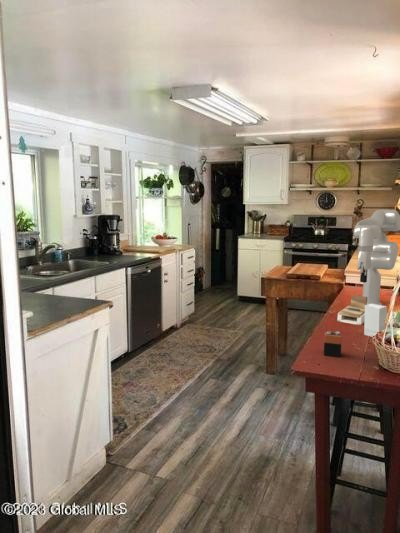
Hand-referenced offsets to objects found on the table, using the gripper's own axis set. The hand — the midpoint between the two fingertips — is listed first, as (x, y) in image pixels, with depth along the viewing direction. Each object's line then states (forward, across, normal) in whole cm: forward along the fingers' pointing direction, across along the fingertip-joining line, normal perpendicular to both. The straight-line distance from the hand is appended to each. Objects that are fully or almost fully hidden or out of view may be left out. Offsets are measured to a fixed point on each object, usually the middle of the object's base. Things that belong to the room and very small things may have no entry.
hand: (363, 282), depth 239 cm
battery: (+19, +70, +8) cm, 73 cm away
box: (+18, +13, 0) cm, 22 cm away
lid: (+15, +13, 0) cm, 20 cm away
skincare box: (+19, +35, +16) cm, 43 cm away
